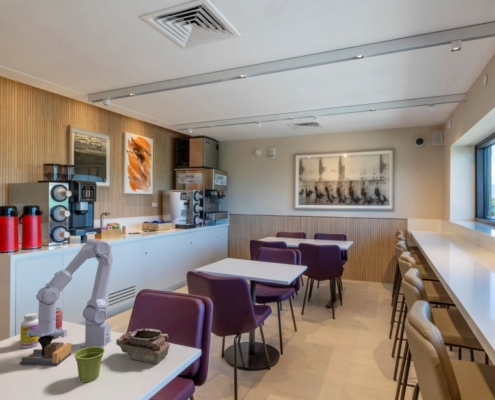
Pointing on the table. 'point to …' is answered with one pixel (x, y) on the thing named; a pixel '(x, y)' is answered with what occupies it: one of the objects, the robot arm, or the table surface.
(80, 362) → the plant pot
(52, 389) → the table surface
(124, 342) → the decorative box
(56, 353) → the block
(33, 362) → the gray metal tray
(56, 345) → the sliding block
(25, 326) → the supplement bottle
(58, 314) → the soda can
